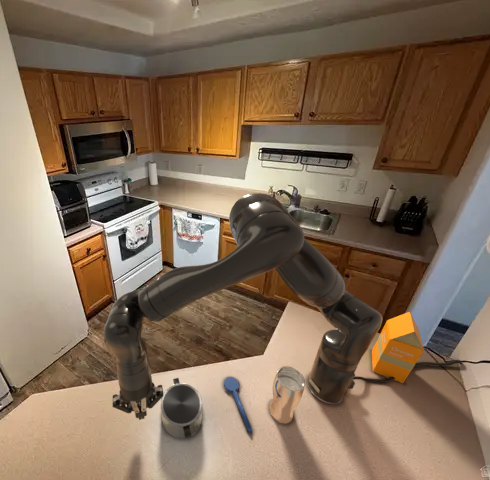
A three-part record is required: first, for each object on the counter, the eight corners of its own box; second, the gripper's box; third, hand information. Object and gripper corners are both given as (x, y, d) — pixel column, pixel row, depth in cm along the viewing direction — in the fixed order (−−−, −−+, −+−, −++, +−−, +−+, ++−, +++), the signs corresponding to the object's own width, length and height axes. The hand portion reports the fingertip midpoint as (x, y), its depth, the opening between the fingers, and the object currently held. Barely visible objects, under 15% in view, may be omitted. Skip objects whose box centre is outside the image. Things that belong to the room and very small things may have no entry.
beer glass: (296, 428, 68) (309, 394, 60) (269, 422, 69) (278, 389, 62) (291, 401, 74) (302, 367, 66) (266, 396, 75) (274, 363, 68)
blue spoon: (235, 377, 80) (235, 374, 80) (258, 431, 67) (259, 428, 67) (221, 380, 80) (221, 377, 79) (242, 435, 67) (243, 433, 66)
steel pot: (194, 385, 79) (194, 373, 76) (209, 441, 66) (210, 428, 63) (158, 393, 77) (156, 381, 74) (167, 452, 64) (165, 440, 61)
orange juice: (372, 371, 81) (396, 325, 71) (371, 350, 87) (393, 306, 78) (403, 383, 77) (433, 337, 67) (400, 361, 84) (427, 315, 74)
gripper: (104, 396, 55) (115, 438, 63) (165, 383, 57) (169, 425, 65) (105, 365, 61) (115, 406, 69) (160, 354, 63) (164, 395, 72)
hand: (141, 415), depth 67 cm, fingers closed
